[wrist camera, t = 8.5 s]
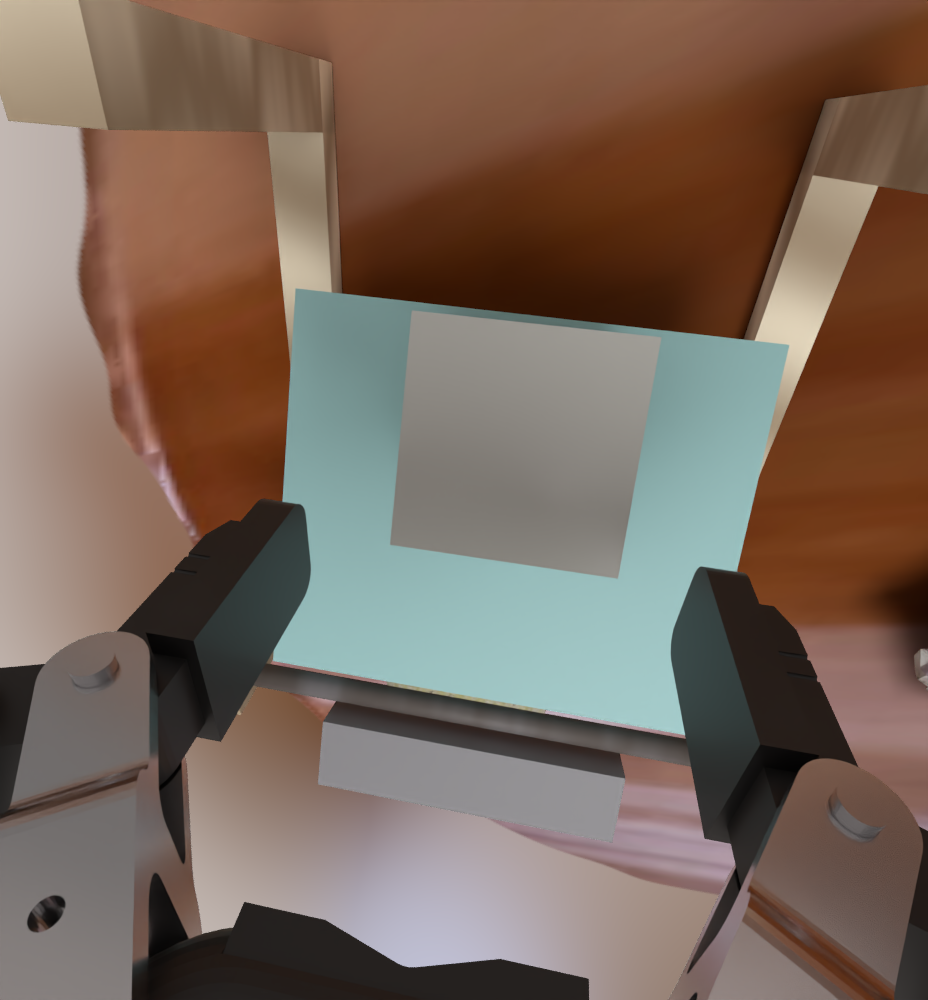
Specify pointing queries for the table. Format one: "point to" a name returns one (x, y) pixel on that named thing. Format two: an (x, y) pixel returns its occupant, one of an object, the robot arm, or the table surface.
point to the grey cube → (521, 441)
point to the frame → (316, 238)
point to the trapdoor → (504, 572)
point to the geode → (921, 666)
